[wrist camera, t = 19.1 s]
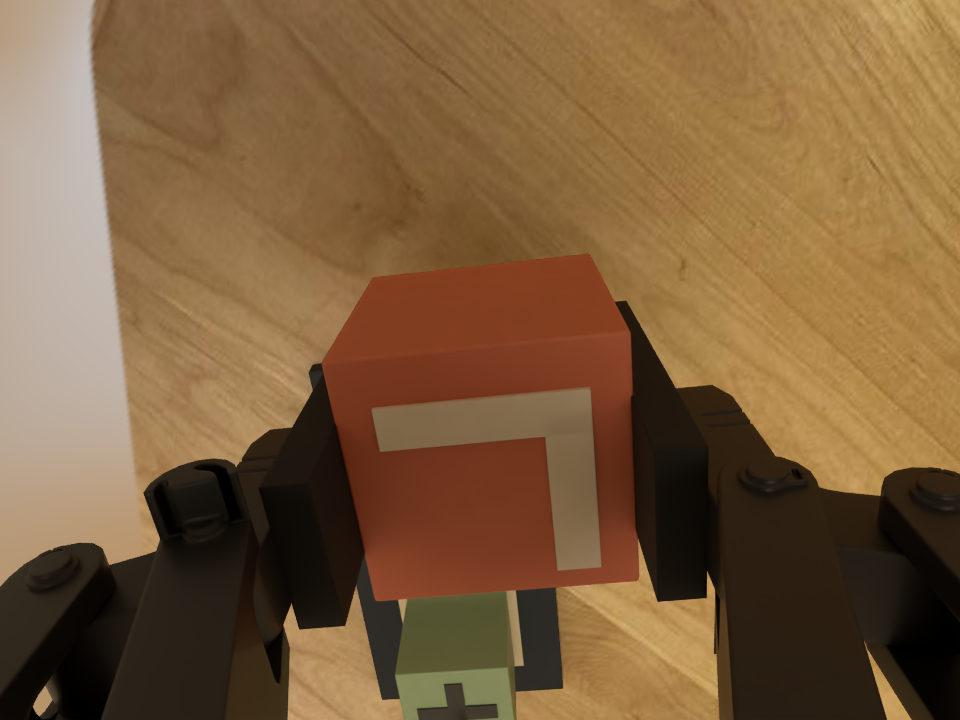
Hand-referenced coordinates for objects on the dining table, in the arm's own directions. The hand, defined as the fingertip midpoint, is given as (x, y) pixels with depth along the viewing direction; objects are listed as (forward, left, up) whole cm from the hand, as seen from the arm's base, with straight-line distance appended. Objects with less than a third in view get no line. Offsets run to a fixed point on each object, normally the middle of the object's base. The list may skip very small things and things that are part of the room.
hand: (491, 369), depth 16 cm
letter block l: (0, 0, 0) cm, 0 cm away
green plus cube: (+10, -17, -12) cm, 24 cm away
